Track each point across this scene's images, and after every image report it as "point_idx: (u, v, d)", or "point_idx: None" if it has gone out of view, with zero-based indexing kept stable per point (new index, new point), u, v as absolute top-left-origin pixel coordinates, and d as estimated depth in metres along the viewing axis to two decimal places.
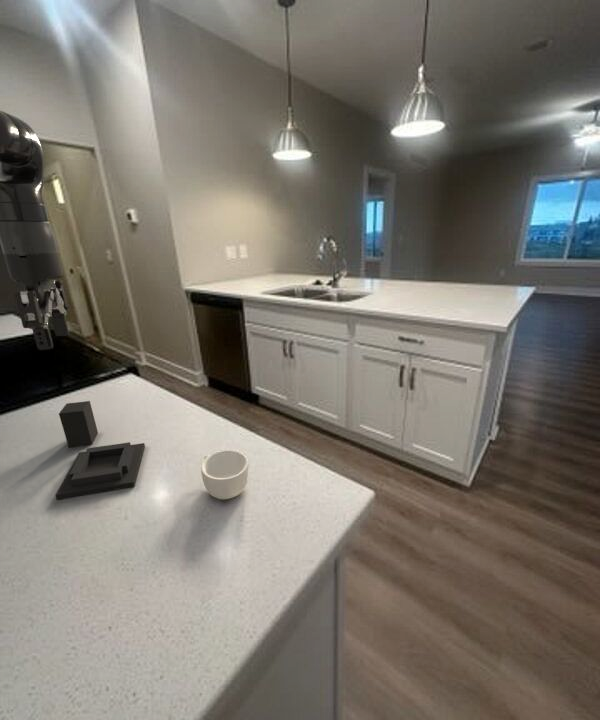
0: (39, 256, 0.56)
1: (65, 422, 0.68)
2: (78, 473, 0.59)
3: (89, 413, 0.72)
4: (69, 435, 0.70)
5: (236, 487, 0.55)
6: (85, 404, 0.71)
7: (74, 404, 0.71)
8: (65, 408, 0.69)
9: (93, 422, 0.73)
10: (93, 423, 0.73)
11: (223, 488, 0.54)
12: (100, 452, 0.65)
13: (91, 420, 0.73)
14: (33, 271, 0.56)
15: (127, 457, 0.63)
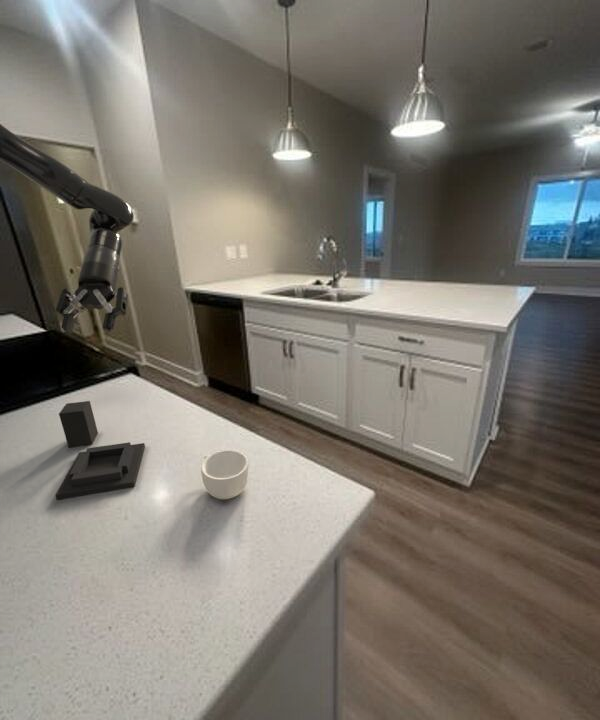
0: (117, 277, 0.83)
1: (65, 422, 0.68)
2: (78, 473, 0.59)
3: (89, 413, 0.72)
4: (69, 435, 0.70)
5: (236, 487, 0.55)
6: (85, 404, 0.71)
7: (74, 404, 0.71)
8: (65, 408, 0.69)
9: (93, 422, 0.73)
10: (93, 423, 0.73)
11: (223, 488, 0.54)
12: (100, 452, 0.65)
13: (91, 420, 0.73)
14: (115, 282, 0.81)
15: (127, 457, 0.63)
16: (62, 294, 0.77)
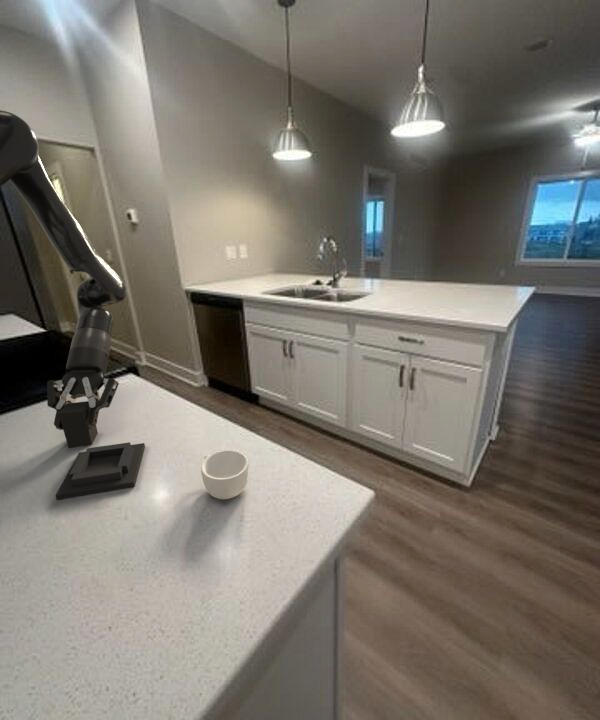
0: None
1: (65, 422, 0.68)
2: (78, 473, 0.59)
3: None
4: (69, 435, 0.70)
5: (236, 487, 0.55)
6: (85, 404, 0.71)
7: (74, 404, 0.71)
8: (65, 408, 0.69)
9: None
10: None
11: (223, 488, 0.54)
12: (100, 452, 0.65)
13: None
14: (106, 366, 0.76)
15: (127, 457, 0.63)
16: (49, 387, 0.72)
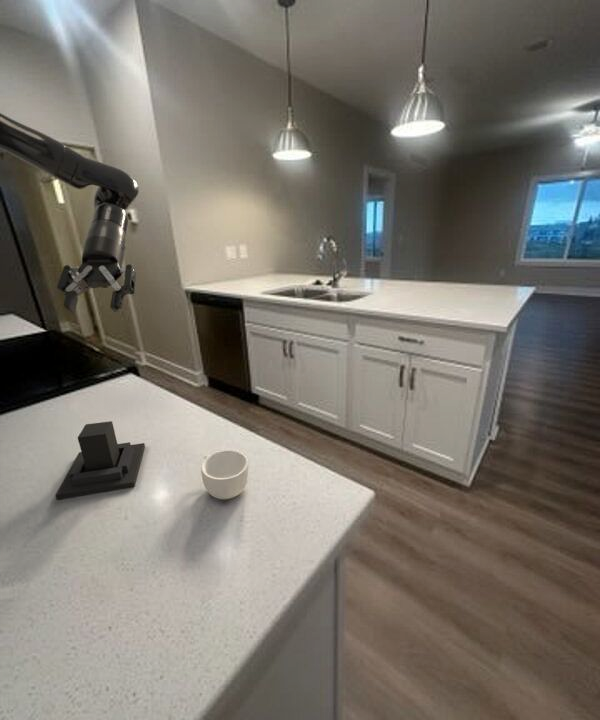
0: None
1: (85, 446, 0.59)
2: (78, 473, 0.59)
3: (111, 436, 0.62)
4: (89, 462, 0.60)
5: (236, 487, 0.55)
6: (107, 425, 0.61)
7: (94, 425, 0.62)
8: (84, 430, 0.60)
9: (115, 445, 0.64)
10: (115, 446, 0.64)
11: (223, 488, 0.54)
12: None
13: (114, 443, 0.63)
14: (122, 260, 0.75)
15: (127, 457, 0.63)
16: (64, 271, 0.71)
